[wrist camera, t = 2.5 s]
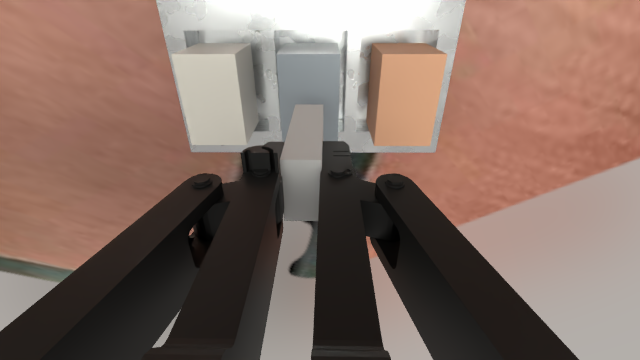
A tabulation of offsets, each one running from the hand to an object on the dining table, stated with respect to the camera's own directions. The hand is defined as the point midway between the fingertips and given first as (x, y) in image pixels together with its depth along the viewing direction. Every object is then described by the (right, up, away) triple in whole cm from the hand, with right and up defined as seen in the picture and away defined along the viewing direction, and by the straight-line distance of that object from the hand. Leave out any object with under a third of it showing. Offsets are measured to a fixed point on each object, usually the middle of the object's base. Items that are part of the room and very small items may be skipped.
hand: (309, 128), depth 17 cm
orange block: (+6, +5, +8) cm, 11 cm away
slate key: (0, +5, +8) cm, 10 cm away
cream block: (-7, +5, +8) cm, 12 cm away
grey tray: (0, +7, +11) cm, 13 cm away
